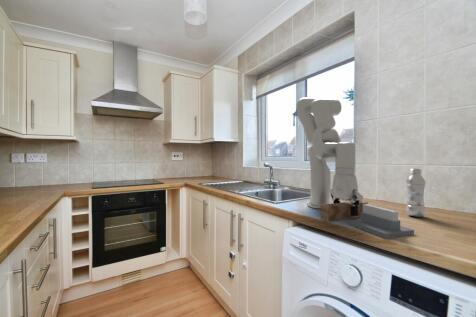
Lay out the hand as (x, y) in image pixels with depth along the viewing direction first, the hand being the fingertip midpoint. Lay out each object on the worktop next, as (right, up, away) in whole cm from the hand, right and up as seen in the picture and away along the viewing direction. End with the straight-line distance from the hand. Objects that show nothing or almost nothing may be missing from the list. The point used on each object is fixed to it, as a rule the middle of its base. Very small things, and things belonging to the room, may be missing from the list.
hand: (345, 212), depth 94 cm
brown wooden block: (0, -2, 0) cm, 2 cm away
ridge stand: (+5, -2, -15) cm, 16 cm away
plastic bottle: (+30, -2, +1) cm, 30 cm away
